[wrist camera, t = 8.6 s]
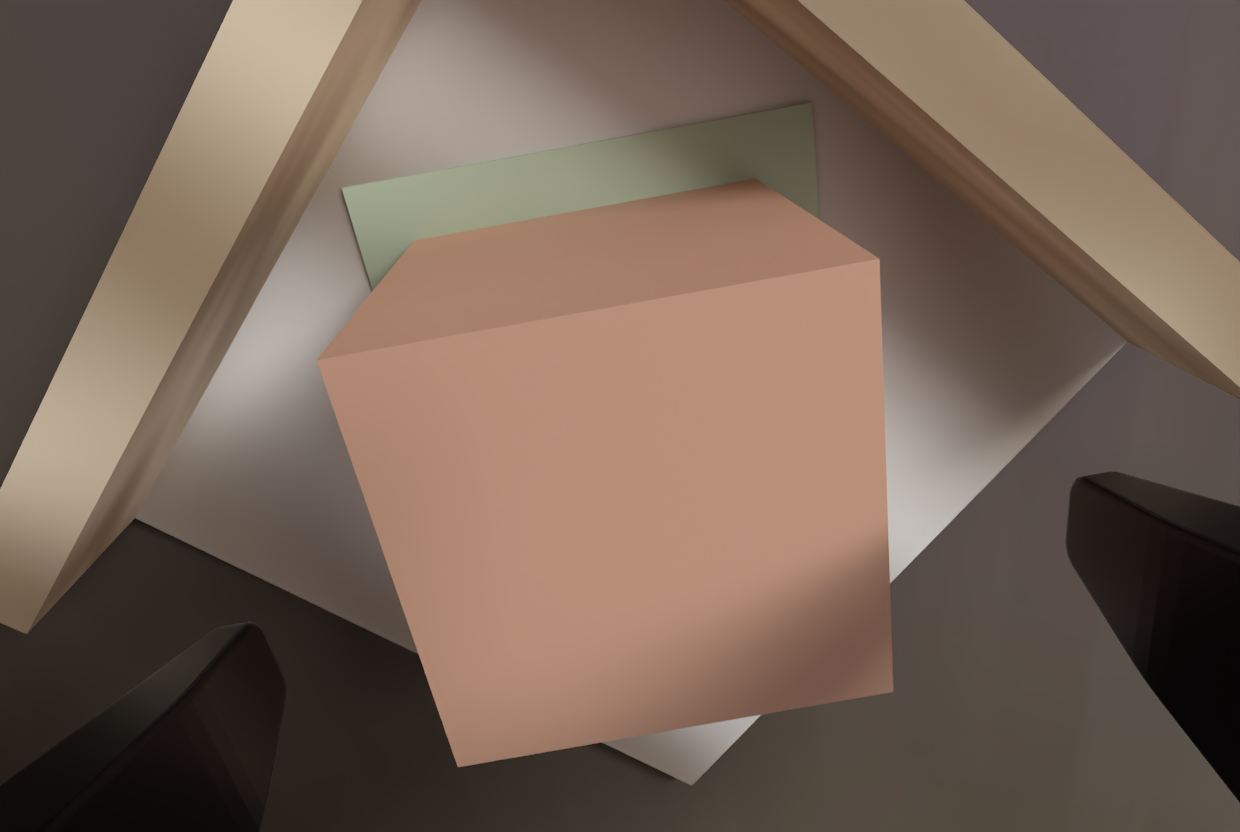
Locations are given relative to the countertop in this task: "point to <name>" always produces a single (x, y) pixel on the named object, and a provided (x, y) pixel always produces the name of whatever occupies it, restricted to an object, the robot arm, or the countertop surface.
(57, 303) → the countertop surface
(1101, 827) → the countertop surface
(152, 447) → the tray
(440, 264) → the cube
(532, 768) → the countertop surface
